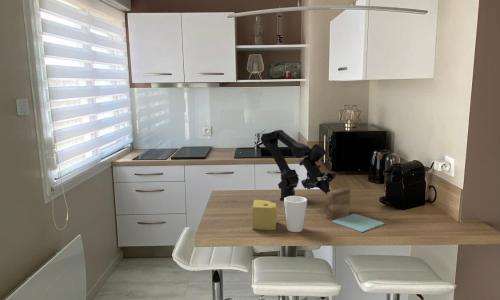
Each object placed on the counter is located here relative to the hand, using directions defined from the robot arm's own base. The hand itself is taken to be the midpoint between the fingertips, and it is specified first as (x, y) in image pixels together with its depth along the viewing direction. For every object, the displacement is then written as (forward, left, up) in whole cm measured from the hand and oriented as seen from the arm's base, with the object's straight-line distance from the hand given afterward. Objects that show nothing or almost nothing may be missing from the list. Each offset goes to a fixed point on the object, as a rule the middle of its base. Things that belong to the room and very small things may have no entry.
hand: (329, 194), depth 184 cm
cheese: (-20, -28, -9) cm, 36 cm away
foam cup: (-7, -26, -9) cm, 29 cm away
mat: (+15, -7, -9) cm, 19 cm away
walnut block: (+5, -2, -9) cm, 10 cm away
